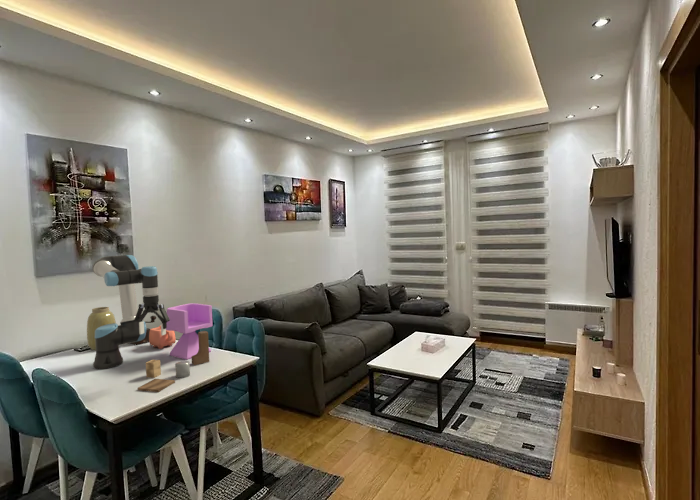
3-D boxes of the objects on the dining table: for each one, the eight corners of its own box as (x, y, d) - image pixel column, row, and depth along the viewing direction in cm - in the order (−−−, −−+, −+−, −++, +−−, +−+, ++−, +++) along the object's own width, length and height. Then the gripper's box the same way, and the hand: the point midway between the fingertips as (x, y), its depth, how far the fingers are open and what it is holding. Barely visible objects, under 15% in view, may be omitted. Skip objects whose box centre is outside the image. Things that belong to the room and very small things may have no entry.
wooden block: (194, 365, 228) (192, 335, 227) (191, 363, 231) (190, 333, 230) (209, 361, 234) (208, 332, 233) (206, 360, 237) (205, 330, 236)
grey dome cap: (173, 377, 210) (172, 365, 209) (181, 373, 217) (181, 360, 216) (184, 378, 208) (183, 365, 208) (192, 373, 215) (192, 361, 214)
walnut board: (137, 390, 194) (137, 387, 194) (155, 380, 206) (155, 378, 206) (158, 392, 191) (158, 389, 191) (174, 382, 203) (174, 380, 203)
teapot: (144, 346, 269) (143, 325, 268) (162, 341, 279) (160, 321, 278) (162, 351, 257) (161, 329, 256) (180, 346, 267) (179, 325, 266)
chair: (186, 360, 236) (184, 311, 235) (166, 355, 247) (164, 308, 245) (213, 351, 253) (211, 305, 251) (194, 347, 264) (191, 302, 262)
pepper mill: (136, 345, 270) (135, 319, 269) (128, 343, 277) (127, 317, 276) (158, 340, 283) (157, 315, 282) (151, 337, 289) (149, 313, 288)
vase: (107, 351, 259) (105, 310, 257) (81, 351, 259) (79, 311, 258) (122, 343, 276) (120, 305, 275) (98, 343, 276) (96, 305, 275)
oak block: (146, 377, 211) (145, 362, 211) (153, 373, 216) (152, 359, 216) (154, 377, 210) (153, 363, 210) (160, 374, 215) (160, 360, 215)
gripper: (125, 296, 210) (127, 335, 212) (166, 296, 205) (168, 337, 206) (136, 293, 218) (138, 331, 219) (175, 294, 212) (177, 333, 213)
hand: (152, 334), depth 212 cm, fingers open, 13 cm apart
